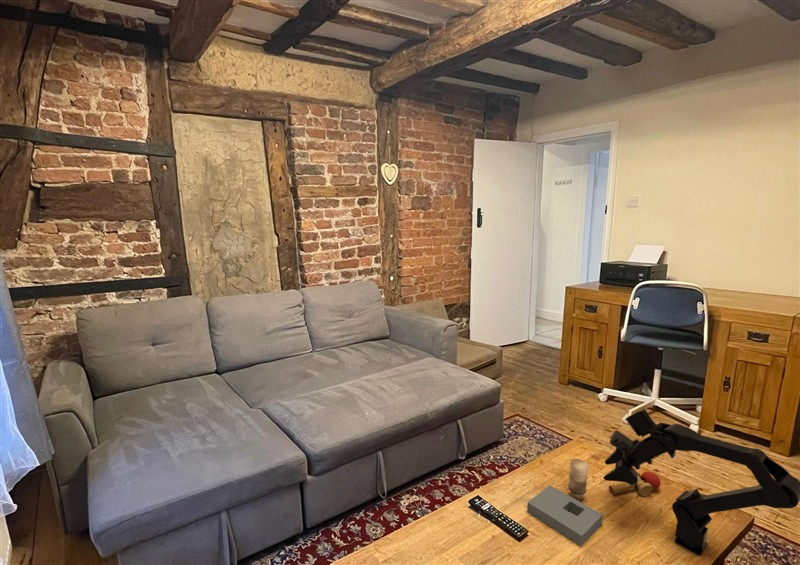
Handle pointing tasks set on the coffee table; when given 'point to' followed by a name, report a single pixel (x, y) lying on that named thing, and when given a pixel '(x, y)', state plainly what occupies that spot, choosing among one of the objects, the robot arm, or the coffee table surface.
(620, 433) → the robot arm
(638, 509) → the coffee table surface
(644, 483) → the kendama
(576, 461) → the peg
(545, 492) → the board
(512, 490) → the coffee table surface
